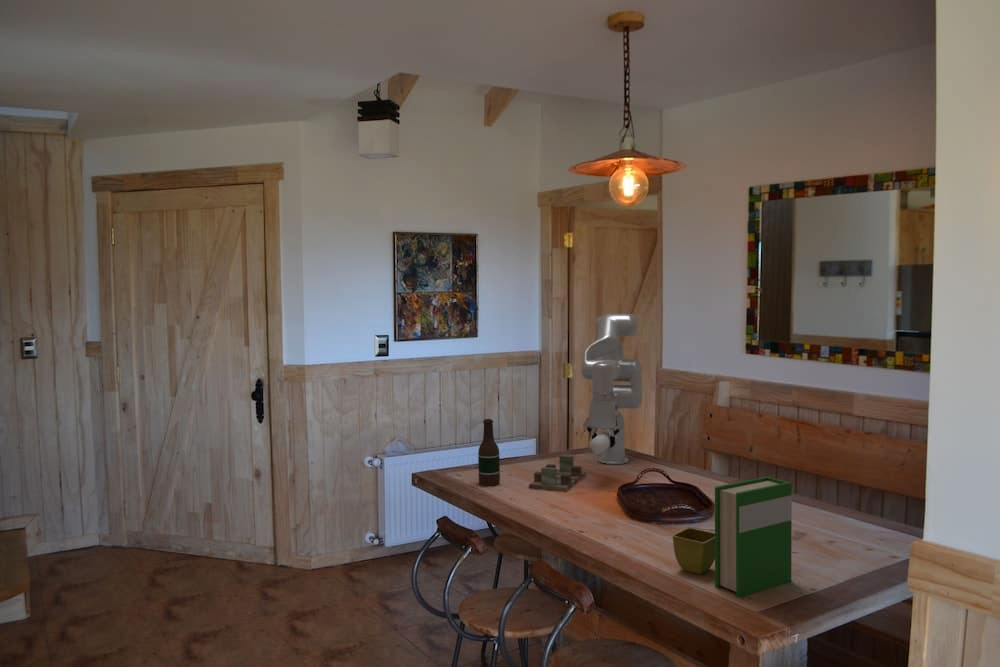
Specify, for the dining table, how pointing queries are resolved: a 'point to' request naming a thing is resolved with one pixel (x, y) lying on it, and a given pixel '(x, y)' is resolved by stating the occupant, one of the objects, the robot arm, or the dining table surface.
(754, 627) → the dining table surface
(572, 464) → the cradle
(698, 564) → the flower pot
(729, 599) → the dining table surface
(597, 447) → the roll
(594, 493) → the dining table surface
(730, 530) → the hardback book
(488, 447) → the beer bottle
